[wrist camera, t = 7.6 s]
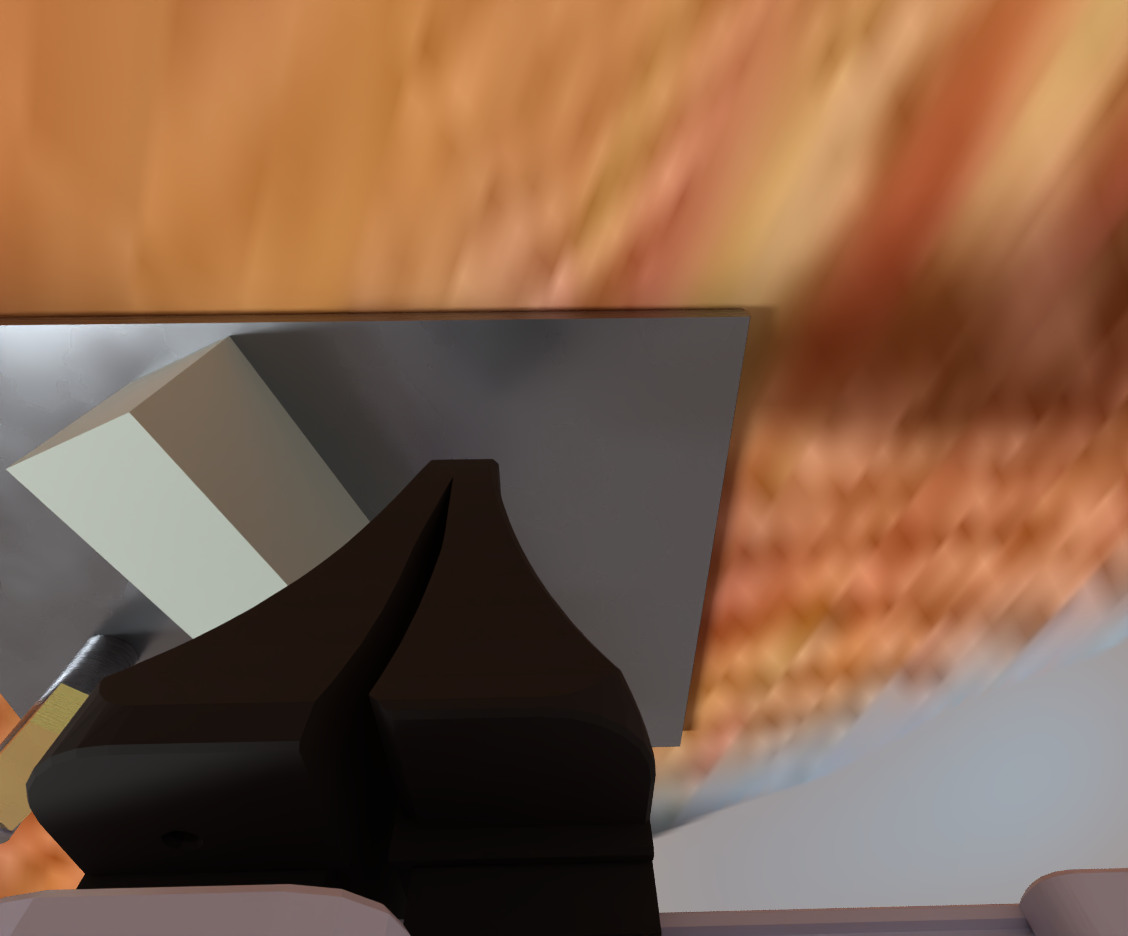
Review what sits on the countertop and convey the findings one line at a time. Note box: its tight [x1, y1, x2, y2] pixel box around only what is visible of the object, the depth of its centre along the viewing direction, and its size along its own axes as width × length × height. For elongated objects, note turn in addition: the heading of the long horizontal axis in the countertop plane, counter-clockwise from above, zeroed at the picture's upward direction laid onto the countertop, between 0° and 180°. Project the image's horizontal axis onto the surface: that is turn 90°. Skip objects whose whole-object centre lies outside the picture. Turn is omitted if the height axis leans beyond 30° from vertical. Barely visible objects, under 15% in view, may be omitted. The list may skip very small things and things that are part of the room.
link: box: [6, 336, 370, 639], centre depth 17 cm, size 16×6×4 cm, turn 23°
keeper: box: [0, 635, 138, 844], centre depth 17 cm, size 2×6×6 cm, turn 134°
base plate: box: [0, 309, 750, 747], centre depth 19 cm, size 17×24×1 cm
